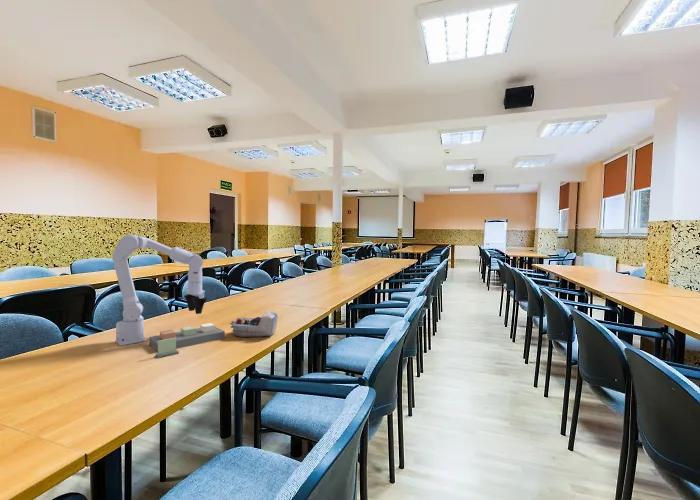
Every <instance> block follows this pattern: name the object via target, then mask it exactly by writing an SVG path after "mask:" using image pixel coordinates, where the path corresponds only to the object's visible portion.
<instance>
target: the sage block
mask: <svg viewBox="0 0 700 500" xmlns="http://www.w3.org/2000/svg"><path fill="white" fill-rule="evenodd" d="M196 329H197V328H195V327H194V326H190V325H189V326H185V327H181V328H180V331H181V335H182V336H184V337H186V336H191V335H196Z"/></svg>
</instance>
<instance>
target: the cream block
mask: <svg viewBox="0 0 700 500" xmlns="http://www.w3.org/2000/svg"><path fill="white" fill-rule="evenodd" d="M215 327H216V326H215V324H213V323H211V322H209V323H203V324H200V325H199V328H200V331H201V332H203V333H207V332H212V331H215Z"/></svg>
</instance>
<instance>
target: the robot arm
mask: <svg viewBox="0 0 700 500" xmlns="http://www.w3.org/2000/svg"><path fill="white" fill-rule="evenodd" d="M183 248H184V247H183V246H179V247H178V246H175V247H170V246H168V245H165V244H162V243H160V242H158V241H156V240H153V239H151V238H148V237H144V236H139V235H137V234H134V233H133V234H127V235H124V236H123V237H121V239H119V240H118V242H117V245H116V246H115V249H114V251H113V253H112V256H111V257H112V262H113V266H114V270H115V273H116V277H117V281H118V285H119V289H120V293H121V297H122V307H123V310H122V317H123V318H122V320H120V321H117V322H116V323H115V339H116V340H115V342H116V343H117V345H119V346H124V345H125V346H126V345H131V344H137V343H141V342H147V341H148V339H147V338H146V337H144V335H145V334H144V329H145V328H144V327H145V326H144V316H142V313H143V311H144V306H143V304H142V303H141V302H140V301H139V297H138V295H137V292H136V289H135V283H134V281H133V276H132V272H131V269H130V268H131V267H130V265H129V261H128V258H129V257H130V255H132V253H133V252H135V251H136V250H137V249H152V250H154V251H157V252H159V253H163V254H165V255H168V256H169V258H170V259H171V260H173V261H175V262H178V263H181V264H184V265H188V272H187V289H186V295H183V297H184V300H185V301H186V303H187V307H188V308H187V309H188V311H189V312H192V311H195V314H196V315H198V314H199V315H200V314H202V312H203V308H204V305H205V302H206V301H207V300H208V299H207V297H205V291H206V290H203V264H204V261H203V257H201V256H200V255H199V254H198V253H195V252H194V251H188V250H186V249H183Z"/></svg>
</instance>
